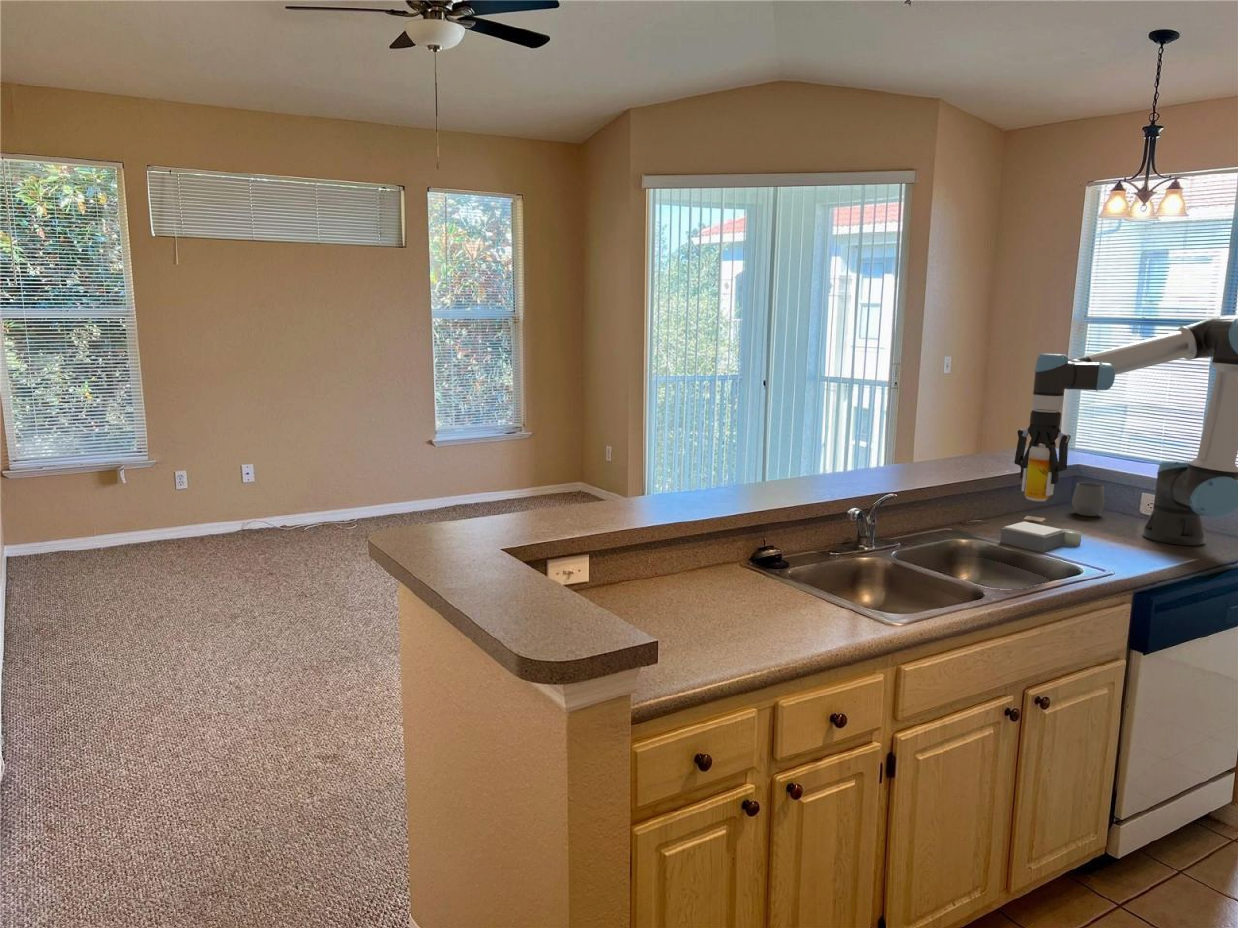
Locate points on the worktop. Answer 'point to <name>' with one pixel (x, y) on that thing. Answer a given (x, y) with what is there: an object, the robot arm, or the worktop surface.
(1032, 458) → the glass of beer
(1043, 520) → the walnut block
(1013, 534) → the podium
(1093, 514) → the cup
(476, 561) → the worktop surface
